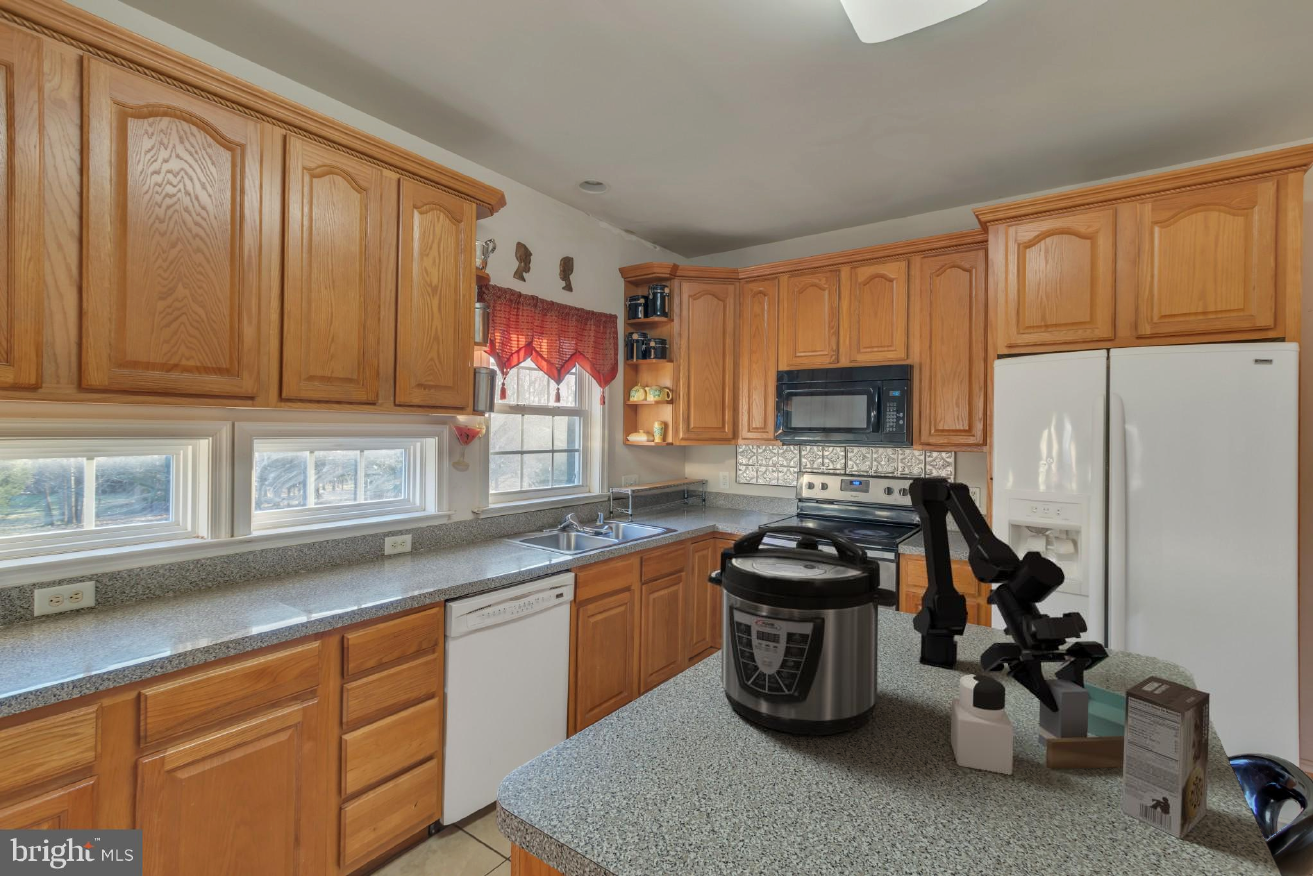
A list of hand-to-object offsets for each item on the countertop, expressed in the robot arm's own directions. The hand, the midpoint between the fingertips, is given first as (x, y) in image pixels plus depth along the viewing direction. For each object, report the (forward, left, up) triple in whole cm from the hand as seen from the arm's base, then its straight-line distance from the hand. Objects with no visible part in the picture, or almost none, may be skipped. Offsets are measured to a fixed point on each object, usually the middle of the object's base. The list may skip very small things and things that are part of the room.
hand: (1070, 711), depth 91 cm
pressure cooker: (-41, -7, -7) cm, 42 cm away
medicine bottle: (-12, -9, -7) cm, 16 cm away
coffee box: (+9, -11, -7) cm, 16 cm away
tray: (+6, +16, -7) cm, 18 cm away
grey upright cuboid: (-1, +1, -7) cm, 7 cm away
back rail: (+2, -3, -7) cm, 7 cm away
